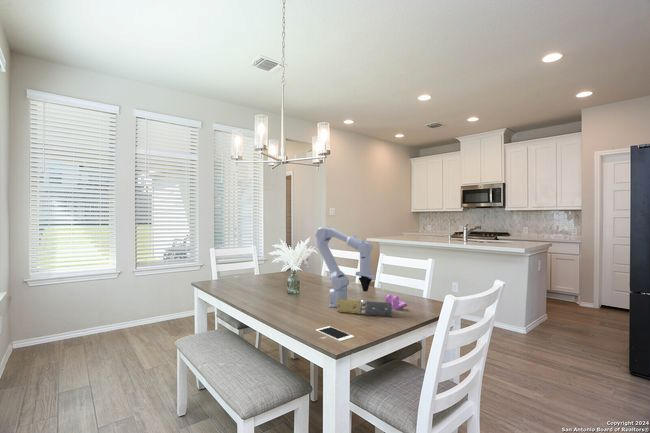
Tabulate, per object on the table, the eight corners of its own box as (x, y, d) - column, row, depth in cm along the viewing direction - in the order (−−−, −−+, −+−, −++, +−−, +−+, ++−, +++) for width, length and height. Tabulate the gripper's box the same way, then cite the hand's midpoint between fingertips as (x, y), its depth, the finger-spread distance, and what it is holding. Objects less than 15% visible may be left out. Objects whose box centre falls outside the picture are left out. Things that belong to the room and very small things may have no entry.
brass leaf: (366, 313, 160) (366, 300, 160) (365, 314, 157) (365, 301, 157) (338, 310, 165) (338, 298, 165) (336, 311, 162) (336, 299, 162)
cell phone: (340, 342, 124) (340, 340, 124) (315, 331, 136) (315, 329, 136) (354, 337, 129) (354, 336, 129) (329, 327, 141) (329, 325, 141)
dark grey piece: (360, 314, 158) (360, 300, 158) (361, 313, 160) (361, 299, 160) (391, 316, 155) (391, 302, 155) (391, 315, 157) (391, 301, 157)
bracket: (395, 310, 167) (395, 296, 167) (385, 308, 170) (385, 295, 170) (406, 304, 177) (406, 292, 177) (397, 303, 180) (397, 290, 180)
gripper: (351, 264, 172) (351, 289, 172) (368, 267, 159) (368, 295, 159) (361, 263, 176) (361, 288, 175) (379, 266, 163) (379, 293, 163)
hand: (365, 291), depth 168 cm, fingers closed
